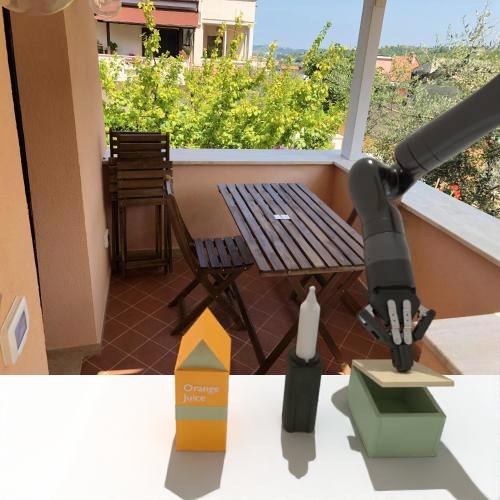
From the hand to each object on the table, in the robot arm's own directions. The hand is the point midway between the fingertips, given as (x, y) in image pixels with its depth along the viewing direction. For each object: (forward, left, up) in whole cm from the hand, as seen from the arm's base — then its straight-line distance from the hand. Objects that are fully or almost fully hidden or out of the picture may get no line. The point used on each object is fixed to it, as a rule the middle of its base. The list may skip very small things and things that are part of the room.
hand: (404, 370), depth 65 cm
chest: (+1, -1, -12) cm, 12 cm away
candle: (+13, +8, -12) cm, 20 cm away
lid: (+1, -1, -2) cm, 2 cm away
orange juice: (+23, +20, -12) cm, 33 cm away
